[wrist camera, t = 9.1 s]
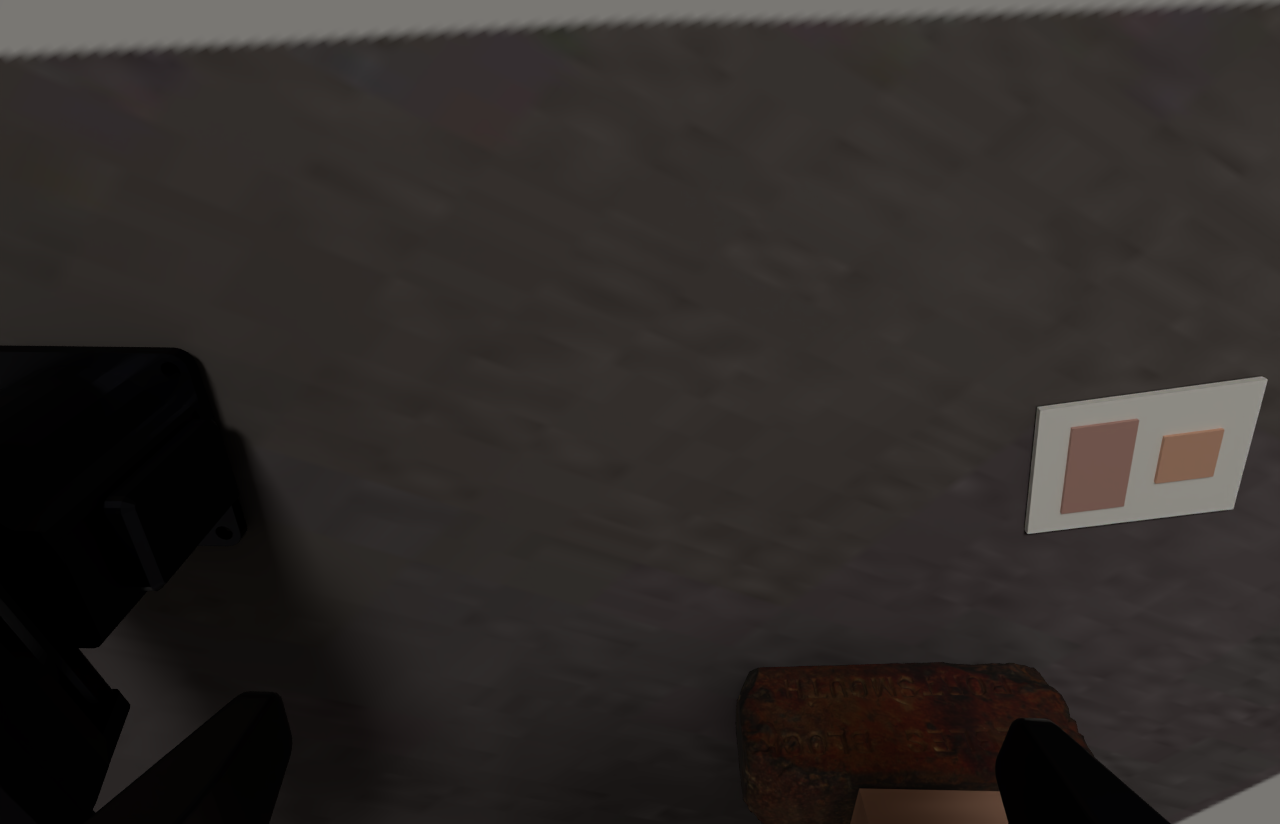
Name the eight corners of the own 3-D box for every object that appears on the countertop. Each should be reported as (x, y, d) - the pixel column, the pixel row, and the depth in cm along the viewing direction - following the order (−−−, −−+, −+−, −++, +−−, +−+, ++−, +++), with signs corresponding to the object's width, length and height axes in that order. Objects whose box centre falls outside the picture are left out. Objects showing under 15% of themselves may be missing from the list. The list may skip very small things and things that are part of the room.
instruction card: (1024, 529, 23) (1028, 536, 23) (1037, 407, 21) (1042, 412, 21) (1228, 505, 22) (1235, 510, 22) (1262, 376, 20) (1270, 381, 20)
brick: (1037, 649, 26) (1109, 771, 22) (1016, 726, 28) (1079, 850, 24) (733, 658, 26) (747, 778, 22) (733, 732, 28) (746, 856, 24)
